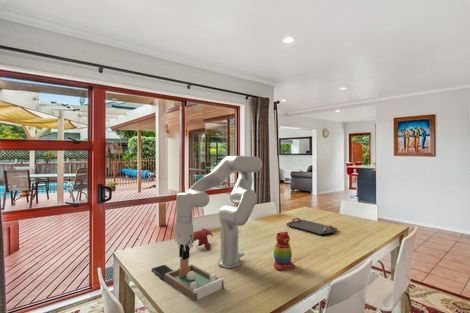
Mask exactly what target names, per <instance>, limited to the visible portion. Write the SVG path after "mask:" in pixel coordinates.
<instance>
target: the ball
mask: <svg viewBox="0 0 470 313" xmlns="http://www.w3.org/2000/svg"><path fill="white" fill-rule="evenodd" d="M186 277H187V279H188V280H190V281H191V280H193V279H194V278H195V273H194V272H193V271H189V272H188V273H187V275H186Z"/></svg>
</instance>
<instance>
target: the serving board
mask: <svg viewBox="0 0 470 313" xmlns="http://www.w3.org/2000/svg"><path fill="white" fill-rule="evenodd" d="M286 226H290V227H292V228H293V227H294V228H297V229H299V230H300V229H301V230H304V231H309V232H312V233H315V234H319V236H320V237H323V236H324V235H325V234H331V233H332V234H333V233H336V232H337V231H338V227H335V226H333V225H327V224H323V223H318V222H314V221H310V220H305V219H300V217H294V218H292V219H291V220H290V221H289V222H287V223H286Z"/></svg>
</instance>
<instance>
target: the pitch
mask: <svg viewBox="0 0 470 313" xmlns="http://www.w3.org/2000/svg"><path fill="white" fill-rule="evenodd" d="M189 266H190V271H193V272H194V273H195V278H194V279H193V280H191V281H190V280H188V279H187V277H186V276H185V277H182V278H180V277H179V268H177V269H175V270H173V271H171V272H168V273H165V274H164V279H165V282H166V283H168V284H169V285H171V286H172V287H174V288H175V289H176V290H178V291H179V292H181V293H183V294H184V295H185V296H186V297H187V298H189V299H191V300H192V301H194V302H196V301H198V300H200V299H203V298H204V297H207V296H209V295H211V294H213V293H215V292H217V291H219V290H221V289H223V288H225V287H224V286H225V285H224V283H225V282H224V281H225V279H224V277H220V278H219V277H217V274H216V273H215V272H214V273H212V274H211V273H209V272H208V271H206V270H204V269H202V268H200V267H199V266H196V265H195V264H189Z"/></svg>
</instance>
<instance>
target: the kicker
mask: <svg viewBox="0 0 470 313" xmlns="http://www.w3.org/2000/svg"><path fill="white" fill-rule="evenodd" d="M183 251H184V247H183V248H182V257H181V258H180V259H179V262H180V263H179V266H180V267H178V269H179V277H180V278H182V277H185V276H186V275H187V273H188V272H189V271H190V266H189V265H190V264H189V259H190V257H189V258H188V259H183Z"/></svg>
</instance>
